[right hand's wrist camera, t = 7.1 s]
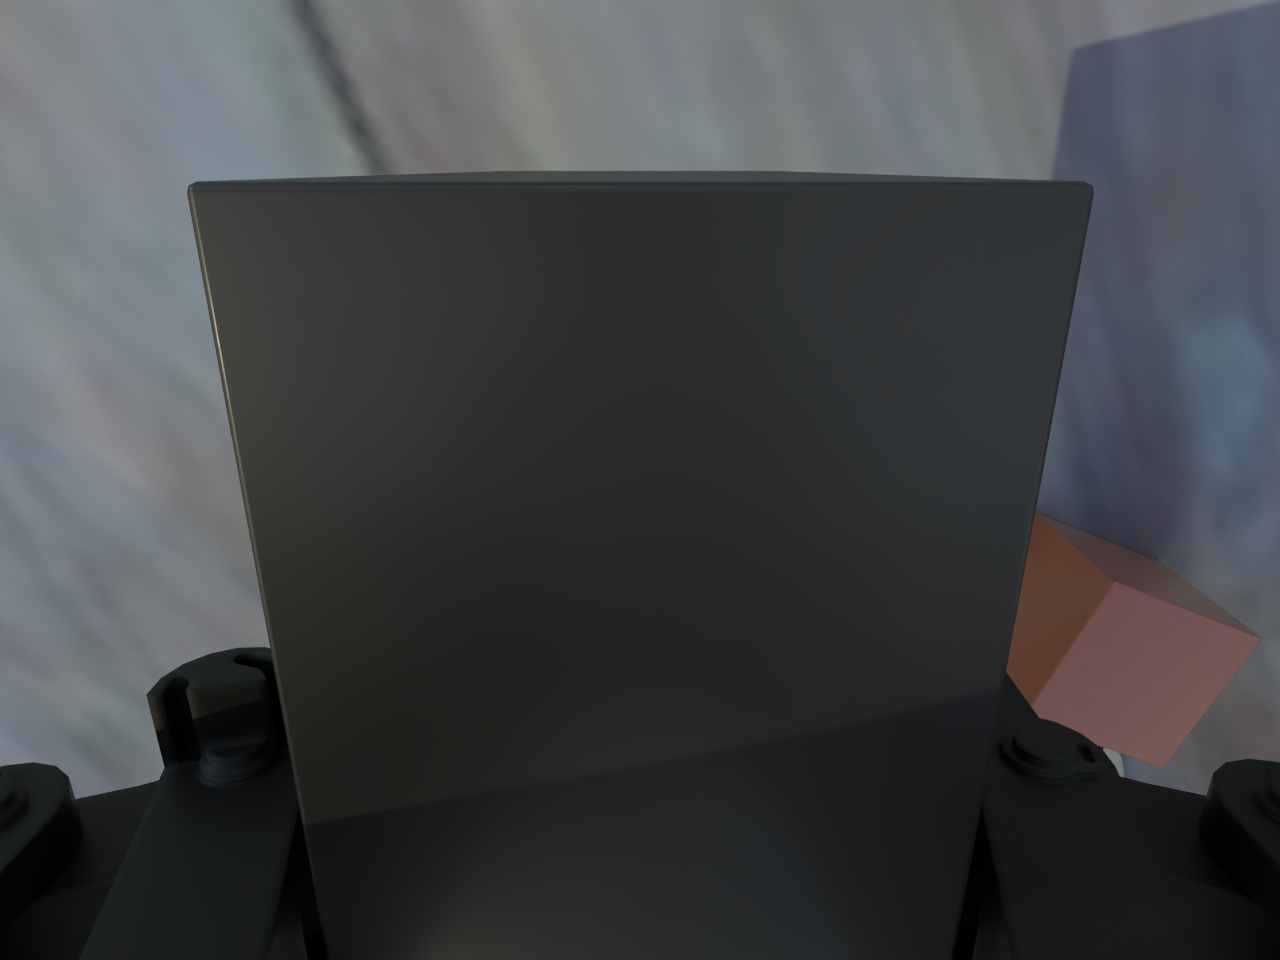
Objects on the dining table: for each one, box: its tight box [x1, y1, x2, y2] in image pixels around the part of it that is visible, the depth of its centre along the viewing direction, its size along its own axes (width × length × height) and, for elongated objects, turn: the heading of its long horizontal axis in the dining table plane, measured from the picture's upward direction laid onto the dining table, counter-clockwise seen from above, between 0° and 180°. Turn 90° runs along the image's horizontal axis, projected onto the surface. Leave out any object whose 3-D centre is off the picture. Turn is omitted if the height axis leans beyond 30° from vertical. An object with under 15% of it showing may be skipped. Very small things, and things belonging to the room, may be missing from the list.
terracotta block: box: [1006, 513, 1261, 768], centre depth 27 cm, size 5×5×5 cm
